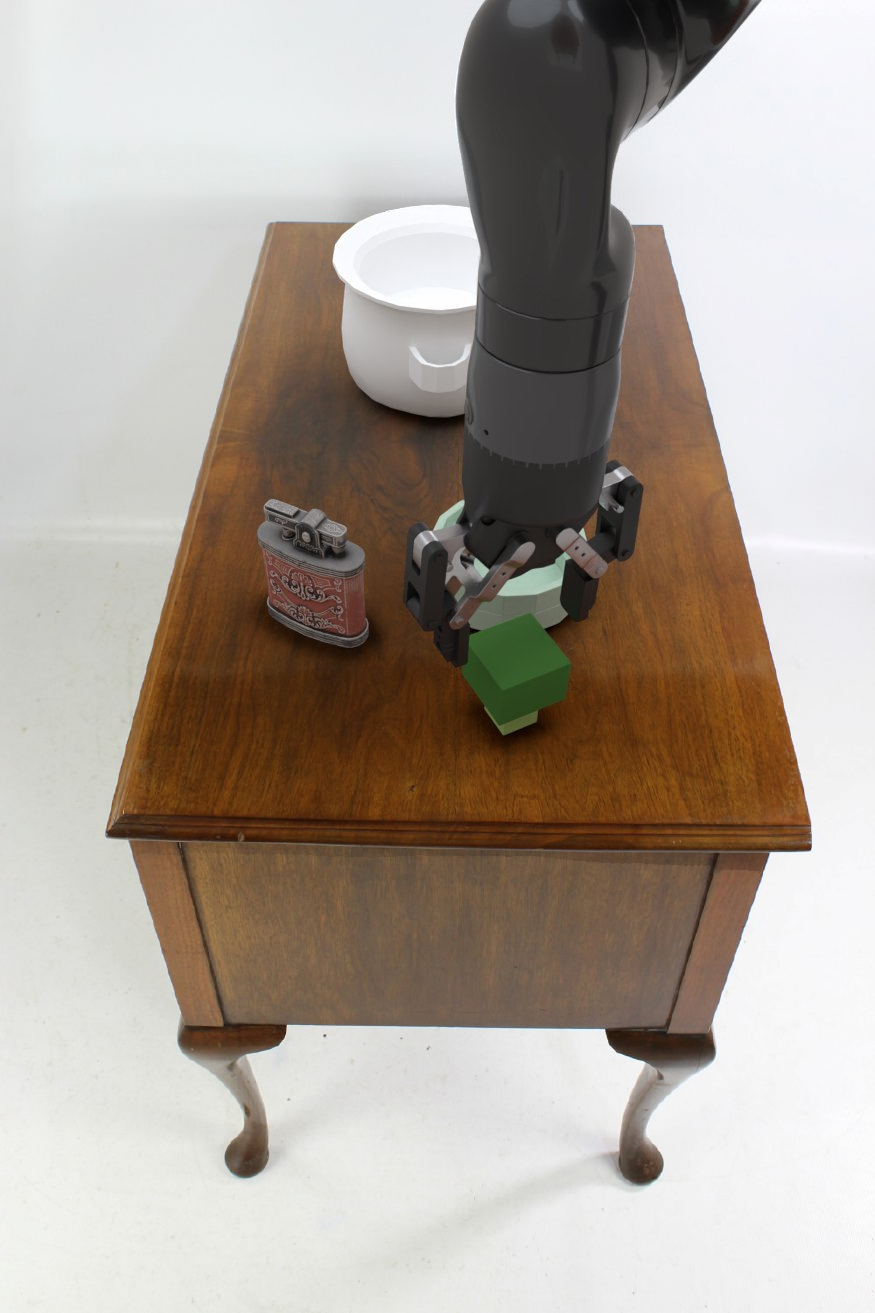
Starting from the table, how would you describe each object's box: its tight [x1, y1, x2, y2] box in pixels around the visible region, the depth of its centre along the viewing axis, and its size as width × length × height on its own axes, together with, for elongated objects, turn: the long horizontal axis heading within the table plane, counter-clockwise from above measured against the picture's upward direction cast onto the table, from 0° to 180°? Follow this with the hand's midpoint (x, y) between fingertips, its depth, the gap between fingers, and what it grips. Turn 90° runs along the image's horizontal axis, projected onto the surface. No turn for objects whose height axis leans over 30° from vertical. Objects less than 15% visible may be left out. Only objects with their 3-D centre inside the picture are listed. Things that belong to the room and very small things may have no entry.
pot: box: [332, 204, 480, 418], centre depth 94 cm, size 22×17×12 cm
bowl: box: [432, 499, 588, 631], centre depth 78 cm, size 11×11×4 cm
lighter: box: [256, 498, 370, 649], centre depth 74 cm, size 8×3×10 cm, turn 62°
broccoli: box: [461, 613, 572, 736], centre depth 69 cm, size 5×5×6 cm
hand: (514, 634), depth 66 cm, fingers open, 8 cm apart
